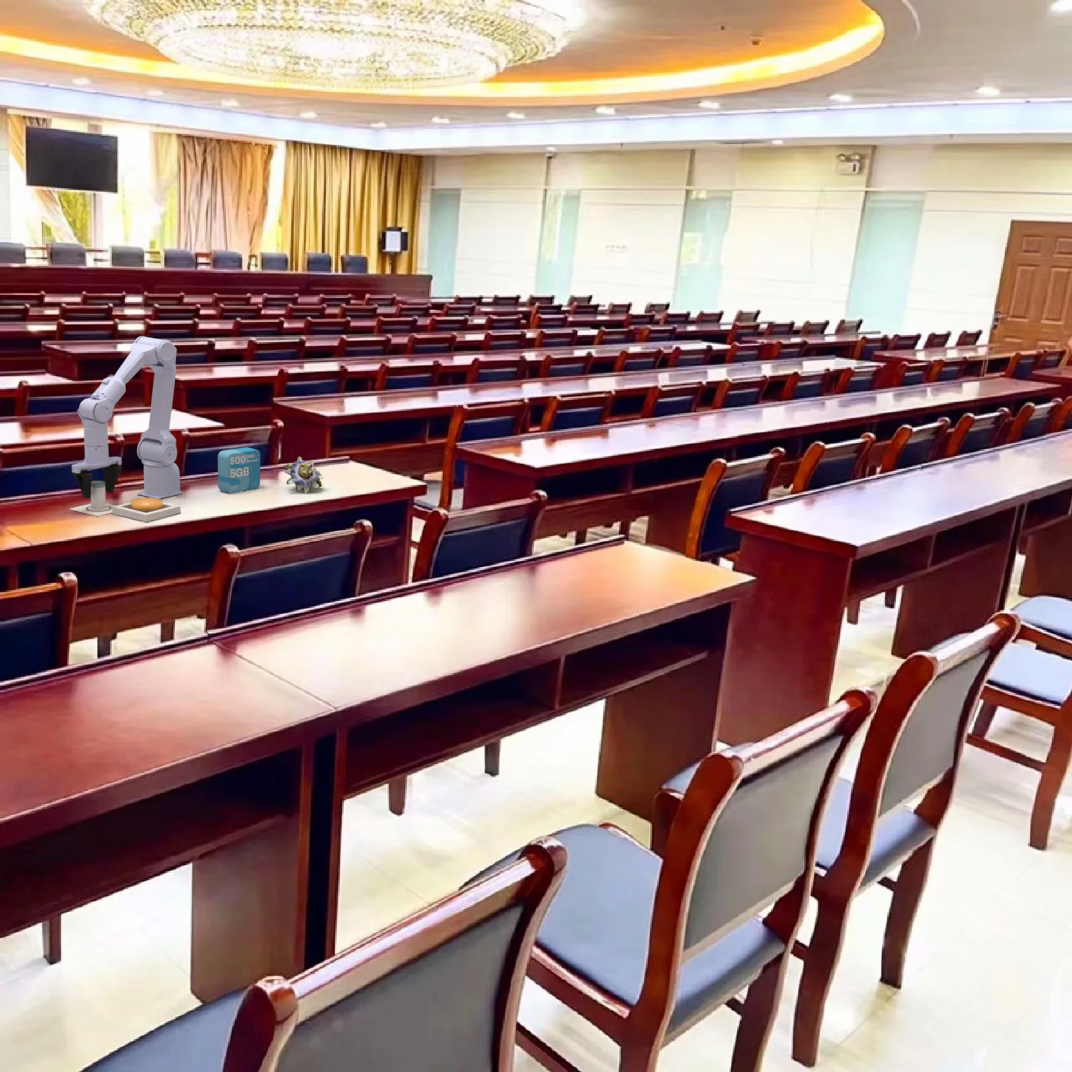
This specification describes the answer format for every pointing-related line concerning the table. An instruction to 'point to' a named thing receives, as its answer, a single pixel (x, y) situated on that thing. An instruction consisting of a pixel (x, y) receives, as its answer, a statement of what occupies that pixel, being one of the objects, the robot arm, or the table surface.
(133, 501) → the button
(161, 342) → the robot arm
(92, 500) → the white cylindrical piece
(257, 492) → the table surface
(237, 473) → the data package
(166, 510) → the button box
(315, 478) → the passion flower
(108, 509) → the paper sheet
